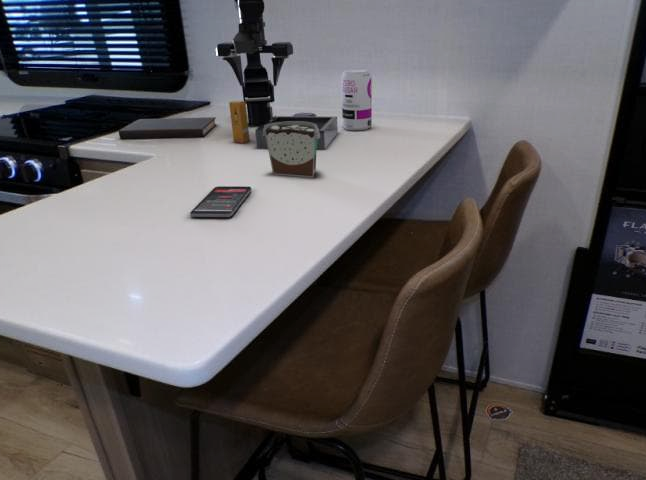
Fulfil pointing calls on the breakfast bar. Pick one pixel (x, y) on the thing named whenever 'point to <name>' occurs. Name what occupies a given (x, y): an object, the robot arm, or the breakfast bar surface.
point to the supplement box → (239, 121)
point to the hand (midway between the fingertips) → (258, 85)
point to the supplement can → (356, 99)
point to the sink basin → (323, 123)
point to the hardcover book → (168, 128)
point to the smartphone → (221, 202)
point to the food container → (292, 147)
